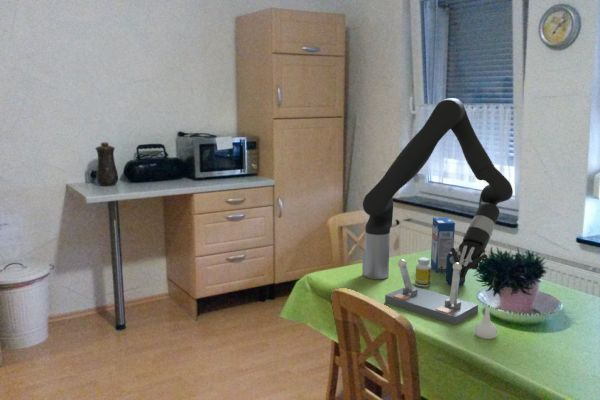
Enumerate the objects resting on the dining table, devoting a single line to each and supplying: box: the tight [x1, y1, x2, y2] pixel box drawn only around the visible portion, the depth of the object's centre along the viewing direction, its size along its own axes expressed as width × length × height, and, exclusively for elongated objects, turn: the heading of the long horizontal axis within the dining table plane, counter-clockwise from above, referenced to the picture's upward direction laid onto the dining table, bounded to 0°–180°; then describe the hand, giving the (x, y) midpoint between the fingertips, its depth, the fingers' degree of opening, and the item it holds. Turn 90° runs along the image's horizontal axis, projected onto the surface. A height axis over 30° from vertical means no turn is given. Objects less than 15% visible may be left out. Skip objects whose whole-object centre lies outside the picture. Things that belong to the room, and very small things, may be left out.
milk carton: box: [430, 217, 456, 274], centre depth 218 cm, size 10×6×20 cm, turn 179°
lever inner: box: [397, 259, 413, 293], centre depth 182 cm, size 3×3×13 cm
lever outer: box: [449, 263, 462, 304], centre depth 174 cm, size 3×3×13 cm
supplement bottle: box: [414, 256, 432, 288], centre depth 201 cm, size 5×5×10 cm
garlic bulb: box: [473, 308, 498, 340], centre depth 159 cm, size 6×6×8 cm
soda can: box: [445, 251, 466, 287], centre depth 201 cm, size 7×7×12 cm
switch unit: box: [384, 285, 479, 326], centre depth 180 cm, size 26×14×4 cm, turn 45°
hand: (459, 277), depth 174 cm, fingers closed
